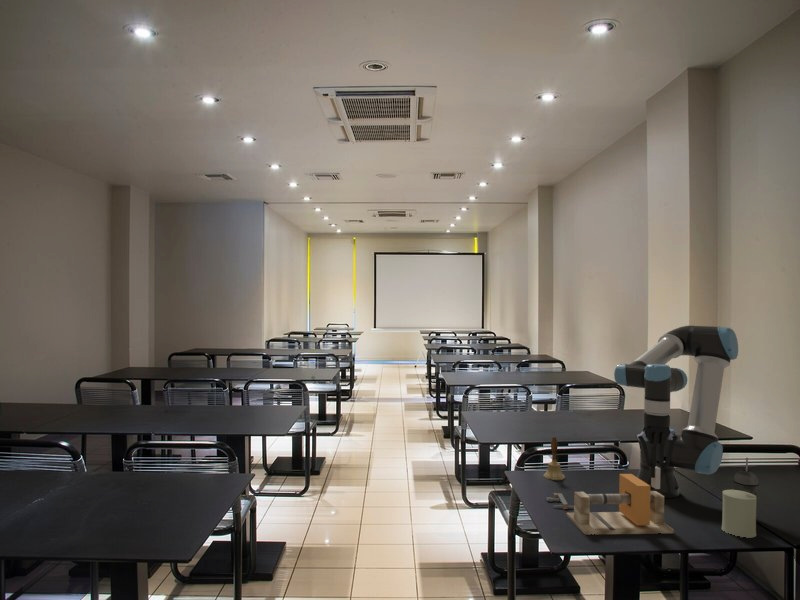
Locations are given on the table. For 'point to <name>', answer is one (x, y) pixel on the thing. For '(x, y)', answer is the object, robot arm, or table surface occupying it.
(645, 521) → the orange slotted block
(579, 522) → the pipe rig
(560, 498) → the clamp
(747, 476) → the beverage cup
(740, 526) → the pale green cylinder
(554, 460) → the hand bell
